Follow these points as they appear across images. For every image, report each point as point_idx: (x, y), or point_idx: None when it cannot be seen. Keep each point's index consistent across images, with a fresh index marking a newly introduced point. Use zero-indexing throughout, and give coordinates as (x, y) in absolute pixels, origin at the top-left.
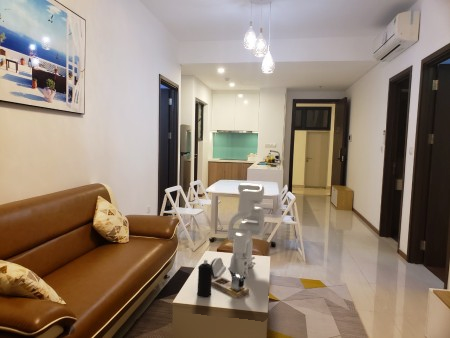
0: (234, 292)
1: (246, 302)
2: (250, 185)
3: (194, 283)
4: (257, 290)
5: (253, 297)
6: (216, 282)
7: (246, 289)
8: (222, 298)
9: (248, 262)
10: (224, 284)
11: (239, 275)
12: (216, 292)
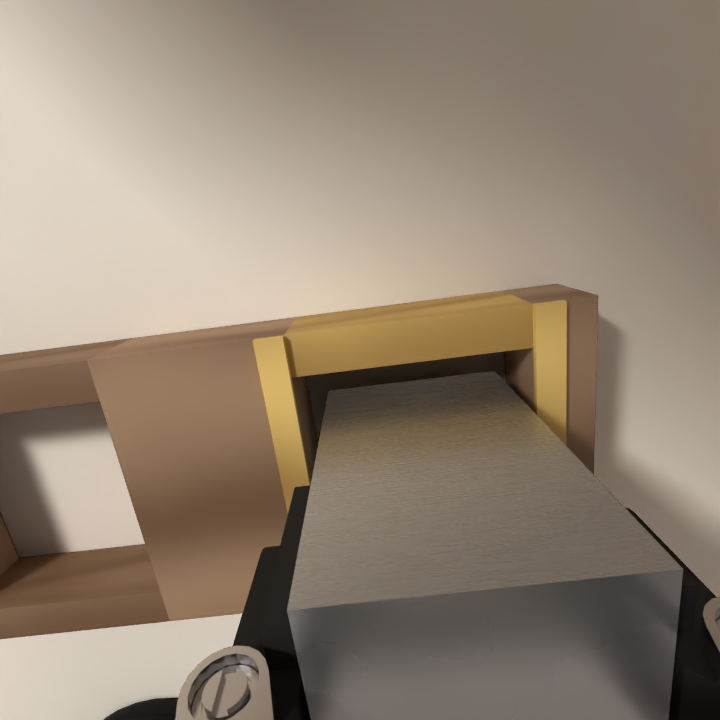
0: None
1: (698, 503)
2: None
3: None
4: (610, 29)
5: (702, 313)
6: (19, 609)
7: (565, 344)
8: None
9: None
10: (154, 549)
11: (416, 599)
12: (225, 643)
